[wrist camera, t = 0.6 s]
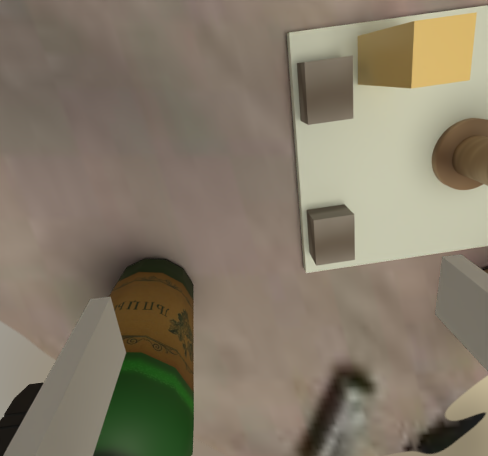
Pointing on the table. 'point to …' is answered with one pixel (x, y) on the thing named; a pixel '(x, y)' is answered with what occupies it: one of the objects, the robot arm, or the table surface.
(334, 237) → the notch board
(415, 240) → the board
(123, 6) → the table surface
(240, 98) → the table surface
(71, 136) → the table surface
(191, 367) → the bottle
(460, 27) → the yellow rectangular block
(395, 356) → the table surface
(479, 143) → the bobbin
